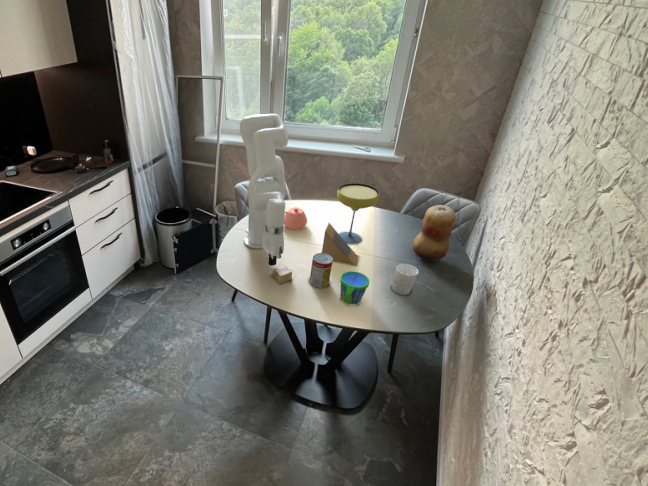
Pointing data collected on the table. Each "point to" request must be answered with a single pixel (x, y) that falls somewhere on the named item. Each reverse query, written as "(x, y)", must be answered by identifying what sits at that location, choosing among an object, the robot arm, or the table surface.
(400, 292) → the white cup
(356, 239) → the cocktail glass
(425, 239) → the butternut squash
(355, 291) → the snack cup
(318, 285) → the canned food
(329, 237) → the sandwich container
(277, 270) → the block
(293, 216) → the sugar bowl
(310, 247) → the table surface
